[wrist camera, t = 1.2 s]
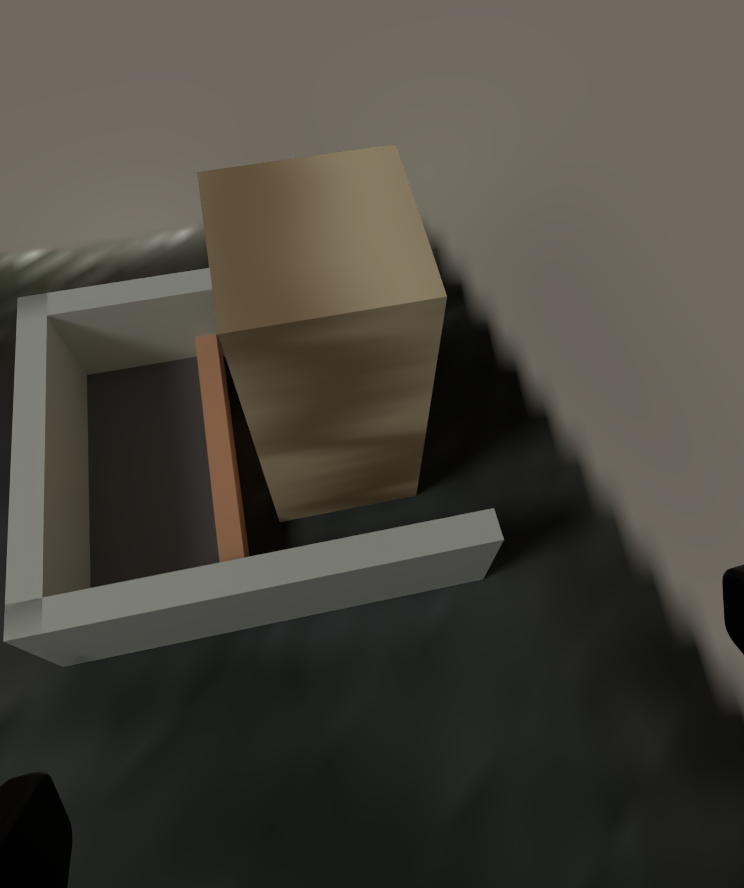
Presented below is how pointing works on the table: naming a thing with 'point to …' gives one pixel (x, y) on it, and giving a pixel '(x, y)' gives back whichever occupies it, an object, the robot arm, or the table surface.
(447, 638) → the table surface
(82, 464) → the trap trough
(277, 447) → the maple block
